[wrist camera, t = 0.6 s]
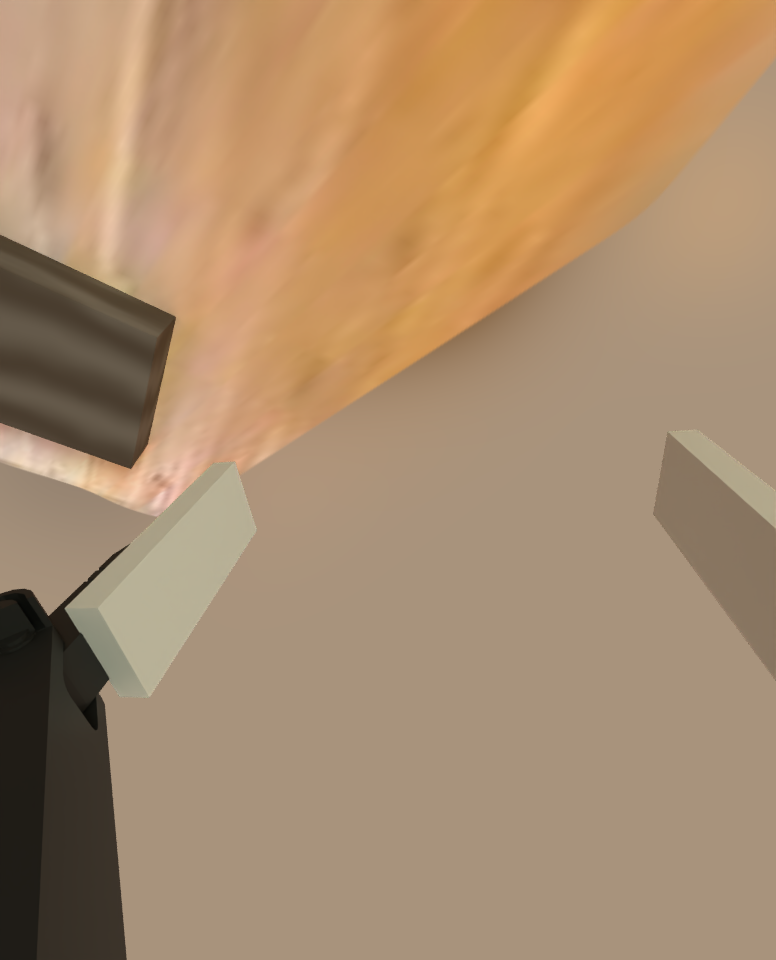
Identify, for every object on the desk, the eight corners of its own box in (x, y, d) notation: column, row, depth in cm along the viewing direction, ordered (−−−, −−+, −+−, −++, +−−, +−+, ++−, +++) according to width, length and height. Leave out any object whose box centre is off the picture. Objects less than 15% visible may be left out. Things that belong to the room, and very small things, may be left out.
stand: (-43, 215, 34) (-85, 229, 31) (175, 317, 39) (157, 337, 36) (-26, 379, 43) (-57, 402, 40) (147, 444, 48) (130, 469, 45)
